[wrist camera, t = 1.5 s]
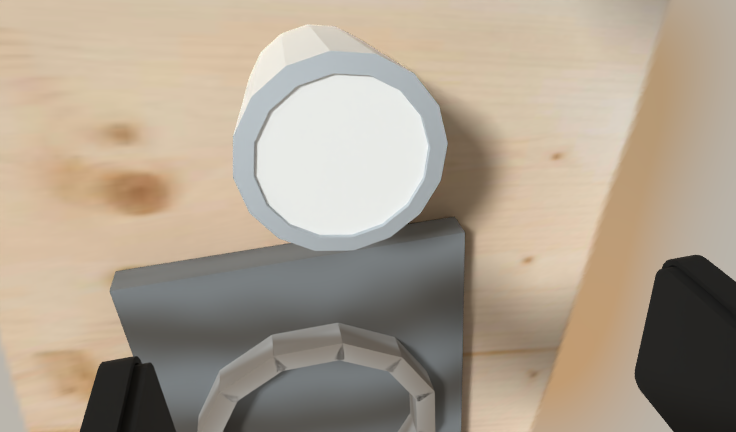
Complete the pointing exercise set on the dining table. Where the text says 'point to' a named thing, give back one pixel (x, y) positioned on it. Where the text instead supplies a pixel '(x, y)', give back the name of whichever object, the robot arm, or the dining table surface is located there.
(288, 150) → the white cup
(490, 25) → the dining table surface
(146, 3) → the dining table surface
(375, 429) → the ring board
